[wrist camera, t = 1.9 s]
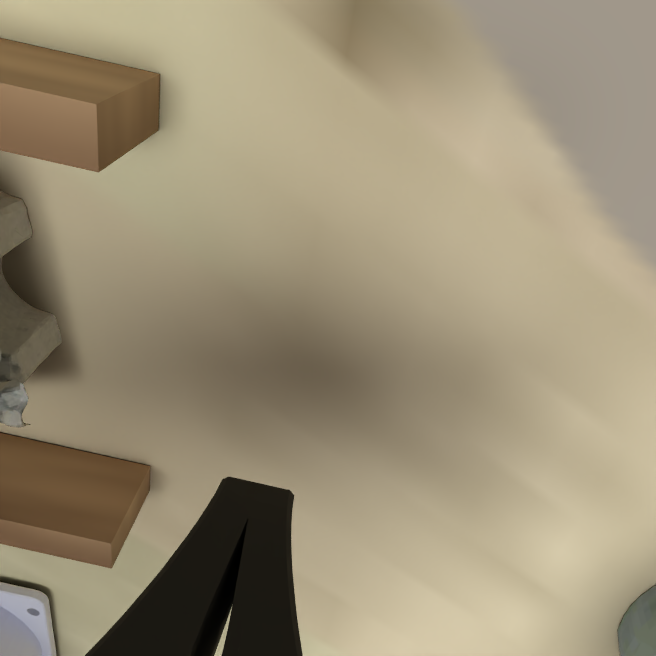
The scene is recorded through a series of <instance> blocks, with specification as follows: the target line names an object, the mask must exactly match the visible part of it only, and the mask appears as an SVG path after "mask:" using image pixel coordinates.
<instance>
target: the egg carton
mask: <svg viewBox="0 0 656 656" xmlns="http://www.w3.org/2000/svg"><path fill="white" fill-rule="evenodd" d="M30 237H32V229H31V225H30V222H29V219H28V215H27V208H26V207H25V205H24V202H23V200H22V199H19V198H16V197H13V196H10V195H8V194H6V193H4V192H1V191H0V423H3V424H5V425H7V426H12V427H23V426H26V425H30V424H25V423H24V422H23V420H22V412H23V410H24V408H25V406H26V405H27V402H28V396H27V393H26V390H25V388H24V385H23V383H24V382H25V381H26V380H27V379H28V378H29V377H30V375H31V374H32V373H33V372H34V371H35V370H36V368H37V367H38V366H39V365H40V364H41V363H42V362H43V361H44V360H45V359H46V358H47V357H48V356H49V355H50V353H51V352H52V351H53V350H54V349H55V348H56V347H57V346H58V345H59V344H61V343H62V339H61V334H60V331H59V328H58V324H57V320H56V317H55V316H54V315H53V314H52V313H49V312H45V311H42V310H39V309H37V308H35V307H33V306H31V305H29V304H27V303H26V302H24V301H23V300H22V299H21V298H20V297H18V296H17V294H16V293H15V292H14V291H13V290H12V289H11V288H10V286H9V285H8V283H7V281H6V280H5V278H4V275H3V272H2V257H3V256H4V255H5V254H6V253H8V252H9V251H10V250H12V249H13V248H15V247H16V246H18V245H19V244H21V243H22V242H24V241H25V240H27V239H29V238H30Z"/></svg>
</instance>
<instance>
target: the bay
mask: <svg viewBox="0 0 656 656" xmlns="http://www.w3.org/2000/svg"><path fill="white" fill-rule="evenodd" d="M159 87H160V74H157V73H153V72H149V71H144V70H140V69H135V68H131V67H126V66H122V65H118V64H113V63H109V62H104V61H100V60H95V59H91V58H87V57H82V56H78V55H73V54H69V53H64V52H60V51H55V50H51V49H47V48H42V47H38V46H33V45H29V44H24V43H20V42H16V41H11V40H7V39H2V38H0V150H2V151H6V152H11V153H15V154H20V155H24V156H28V157H33V158H37V159H42V160H46V161H51V162H55V163H60V164H64V165H68V166H73V167H77V168H82V169H86V170H91V171H95V172H100V171H101V170H103V169H104V168H106V167H107V166H108V165H110V164H111V163H113V162H114V161H116V160H117V159H118V158H120V157H121V156H123V155H124V154H126V153H127V152H128V151H130V150H131V149H133V148H134V147H136V146H137V145H138V144H140V143H141V142H143V141H144V140H146V139H147V138H148V137H150V136H151V135H153V134H154V133H156V132H157V131H158V128H159ZM149 491H150V466H147V465H142V464H138V463H133V462H129V461H124V460H120V459H116V458H111V457H107V456H102V455H98V454H93V453H89V452H84V451H80V450H75V449H71V448H66V447H62V446H57V445H53V444H48V443H44V442H39V441H35V440H30V439H26V438H21V437H17V436H12V435H8V434H3V433H0V544H4V545H9V546H13V547H18V548H22V549H27V550H31V551H36V552H40V553H45V554H49V555H54V556H58V557H63V558H67V559H72V560H76V561H81V562H85V563H90V564H94V565H99V566H103V567H108V568H112V567H113V565H114V563H115V561H116V559H117V557H118V555H119V552H120V550H121V548H122V546H123V544H124V542H125V540H126V538H127V536H128V534H129V532H130V530H131V528H132V526H133V524H134V522H135V519H136V517H137V515H138V513H139V511H140V509H141V507H142V505H143V503H144V501H145V499H146V497H147V495H148V493H149Z"/></svg>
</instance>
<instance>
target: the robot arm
mask: <svg viewBox="0 0 656 656" xmlns="http://www.w3.org/2000/svg"><path fill="white" fill-rule="evenodd" d="M293 500H294V495H293V494H292V492H291V491H290V490H286V489H282V488H277V487H273V486H268V485H264V484H259V483H255V482H251V481H246V480H242V479H237V478H233V477H227V478H225V479H223V480H222V481H221V483H220V485H219V487H218V489H217V491H216V493H215V494H214V496H213V498H212V499H211V501H210V503H209V504H208V506H207V508H206V509H205V511H204V512H203V514H202V515H201V517H200V518H199V520H198V521H197V523H196V524H195V525H194V527H193V528H192V530H191V531H190V533H189V534H188V535H187V537H186V538H185V539H184V541H183V542H182V543H181V545H180V546H179V547H178V549H177V550H176V551H175V553H174V554H173V555H172V557H171V558H170V559H169V561H168V562H167V563H166V564H165V566H164V567H163V568H162V570H161V571H160V572H159V573H158V575H157V576H156V577H155V578H154V579H153V581H152V582H151V583H150V584H149V585H148V586H147V588H146V589H145V590H144V591H143V592H142V593H141V595H140V596H139V597H138V598H137V599H136V601H135V602H134V603H133V604H132V605H131V606H130V608H129V609H128V610H127V611H126V612H125V613H124V614H123V616H122V617H121V618H120V619H119V620H118V621H117V622H116V623H115V624H114V625H113V627H112V628H111V629H110V630H109V631H108V632H107V633H106V634H105V635H104V636H103V637H102V638H101V639H100V640H99V642H98V643H97V644H96V645H95V646H94V647H93V648H92V649H91V650H90V651H89V652H88V653H87V654H86V655H85V656H214V654H215V652H216V649H217V646H218V643H219V641H220V638H221V635H222V632H223V629H224V627H225V624H226V621H227V618H228V615H229V613H230V610H231V607H232V611H231V616H230V622H229V627H228V631H227V636H226V640H225V644H224V649H223V653H222V656H303V655H302V649H301V642H300V636H299V629H298V622H297V614H296V605H295V594H294V584H293V573H292V554H291V520H292V507H293ZM232 604H233V605H232ZM0 656H57V655H56V648H55V641H54V634H53V627H52V619H51V612H50V605H49V599H48V597H47V596H46V595H45V594H44V593H43V592H41V591H38V590H34V589H30V588H25V587H21V586H16V585H12V584H7V583H3V582H0Z"/></svg>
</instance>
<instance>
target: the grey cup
mask: <svg viewBox="0 0 656 656" xmlns="http://www.w3.org/2000/svg"><path fill="white" fill-rule="evenodd" d="M618 642H619V652H620V656H656V585H655V586H654V587H652V588H651V589H649V590H648V591H647V592H645V593H644V594H642V595H641V596H640V597H639V598H638V599H637V600H636V601H635V602H634V603H633V604H632V605H631V606H630V608H629V609H628V610H627V612H626V613H625V615H624V617H623V619H622V621H621V623H620V626H619V628H618Z"/></svg>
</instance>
